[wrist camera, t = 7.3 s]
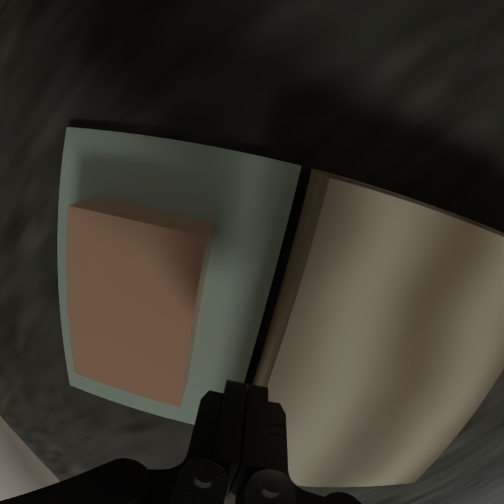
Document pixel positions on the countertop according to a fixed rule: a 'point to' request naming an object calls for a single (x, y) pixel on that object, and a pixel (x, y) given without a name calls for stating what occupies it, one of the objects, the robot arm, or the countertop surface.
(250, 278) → the mat
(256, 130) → the countertop surface
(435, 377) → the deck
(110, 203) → the tile
